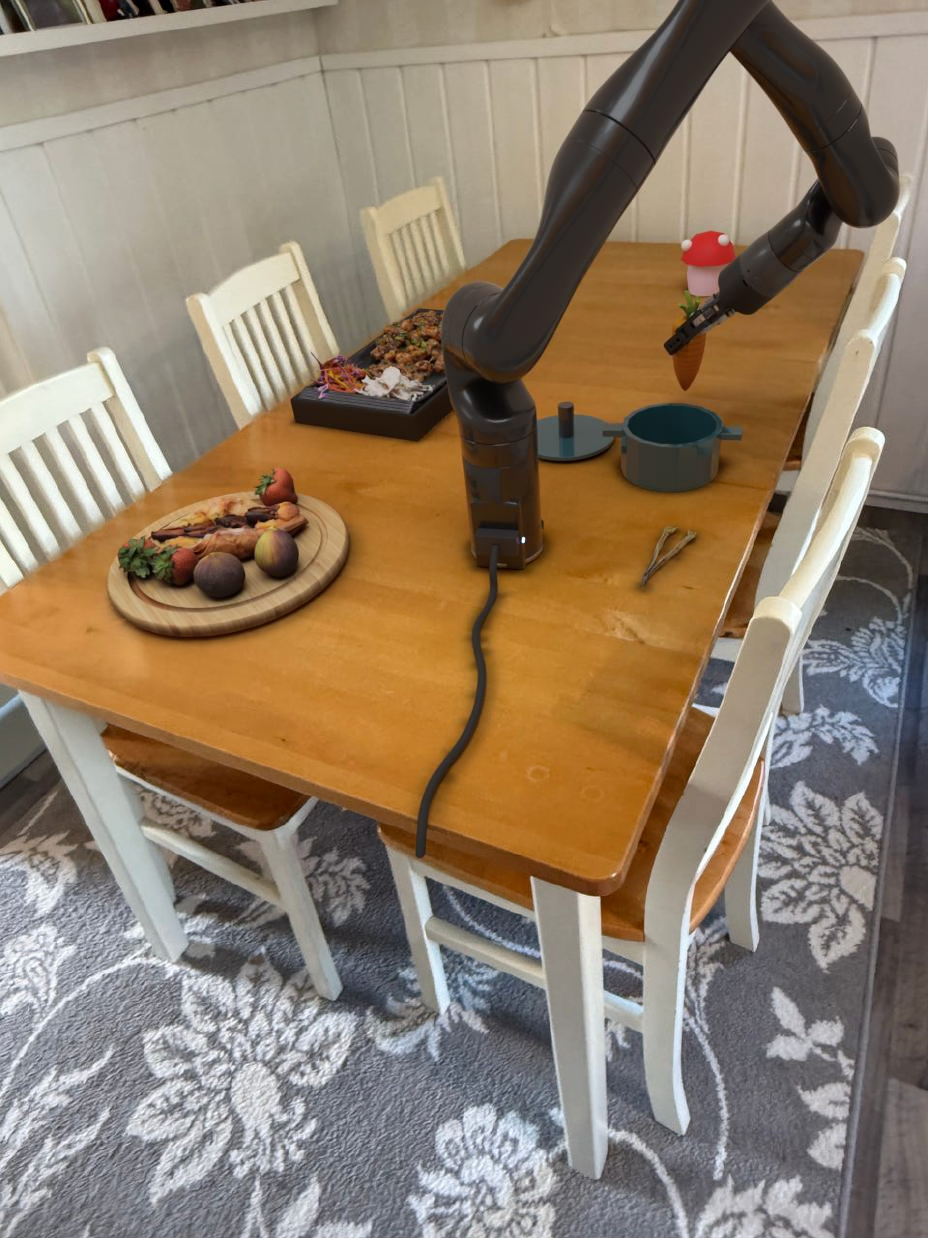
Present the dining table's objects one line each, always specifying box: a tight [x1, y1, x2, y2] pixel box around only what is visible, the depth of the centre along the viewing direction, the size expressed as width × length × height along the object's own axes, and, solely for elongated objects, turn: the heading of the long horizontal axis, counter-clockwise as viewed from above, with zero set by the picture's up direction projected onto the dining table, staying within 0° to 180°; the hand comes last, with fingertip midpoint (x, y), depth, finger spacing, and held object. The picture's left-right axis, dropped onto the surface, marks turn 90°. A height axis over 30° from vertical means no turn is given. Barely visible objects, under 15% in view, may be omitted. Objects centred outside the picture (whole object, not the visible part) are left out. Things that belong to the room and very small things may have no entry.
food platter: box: [289, 307, 454, 442], centre depth 155 cm, size 45×25×10 cm, turn 153°
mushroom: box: [680, 230, 737, 297], centre depth 176 cm, size 11×11×12 cm
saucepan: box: [603, 402, 743, 493], centre depth 121 cm, size 14×19×7 cm
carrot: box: [671, 289, 707, 392], centre depth 128 cm, size 5×5×15 cm
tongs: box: [640, 525, 698, 589], centre depth 105 cm, size 4×13×2 cm, turn 151°
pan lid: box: [537, 401, 615, 462], centre depth 131 cm, size 15×15×6 cm
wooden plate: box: [106, 467, 350, 638], centre depth 112 cm, size 32×32×8 cm
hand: (677, 343), depth 129 cm, fingers closed on carrot, 4 cm apart
